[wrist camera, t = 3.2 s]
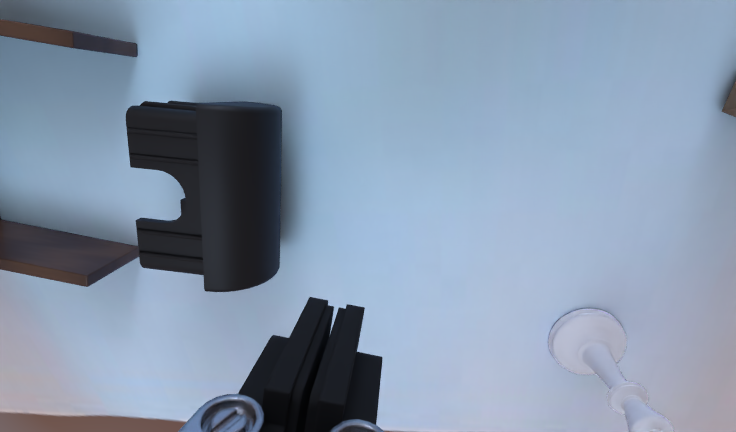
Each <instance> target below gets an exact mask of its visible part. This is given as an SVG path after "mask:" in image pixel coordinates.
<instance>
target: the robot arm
mask: <svg viewBox="0 0 736 432" xmlns="http://www.w3.org/2000/svg"><path fill="white" fill-rule="evenodd" d="M364 309H365V308H364V307H358V306H353V305H348V304H347V306H346V309H343V308H339V309H338V312H337V315H336V319H335V322H334V325H333V328H332V331H331V334H330V330H331V323H332V317H333V310H334V307H333V306H328V300H323V299H318V298H312V297H310V298H309V300H308V302H307V304H306V305H305V307H304V309H303V311H302V313H301V315H300V317H299V319H298V321H297V323H296V325H295V327H294V329H293V331H292V333H291V335H290V337H289V338H285V337H280V336H275V335H273V336H272V337H271V338H270V340H269V341H268V343H267V345H266V346H265V348H264V350H263V352H262V353H261V355H260V357H259V358H258V360H257V362H256V364H255V365H254V367H253V369H252V371H251V372H250V374H249V376H248V377H247V379H246V381H245V383H244V384H243V386H242V388H241V389H240V391H239V393H238V394H227V395H223V396H219V397H216V398H214V399H212V400H210V401H208V402H206V403H205V404H204V405H203V406H202V407H200V408H199V409H198V410H197V412H196V413H195V414H194V415H193V416H192V417H191V418H190V419H189V420H188V421H187V423H186V424H185V425H184V426H183V427H182V428H181V429H180V430H179V431H178V432H384V431H383V430H382V429H381V428H379V427H378V426H377V425H376V420H377V410H378V399H379V389H380V378H381V368H382V357H380V356H375V355H370V354H365V353H360V352H357V348H358V342H359V337H360V331H361V326H362V320H363V315H364ZM329 336H330V337H329Z"/></svg>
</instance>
